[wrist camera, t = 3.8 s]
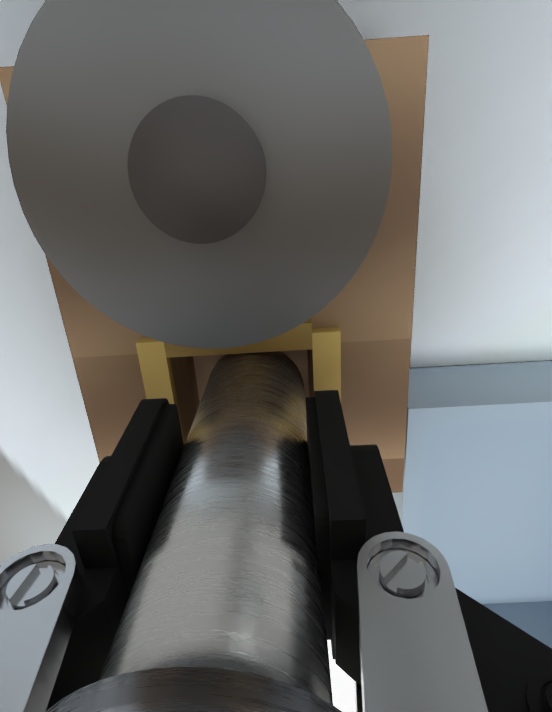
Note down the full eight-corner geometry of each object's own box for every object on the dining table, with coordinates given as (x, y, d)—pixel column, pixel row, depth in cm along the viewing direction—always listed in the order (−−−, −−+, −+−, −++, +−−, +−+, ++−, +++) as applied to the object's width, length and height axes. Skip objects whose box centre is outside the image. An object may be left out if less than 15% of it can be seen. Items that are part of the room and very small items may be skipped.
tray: (388, 369, 18) (408, 409, 15) (630, 356, 18) (697, 394, 15) (379, 606, 24) (393, 668, 21) (566, 599, 23) (606, 661, 20)
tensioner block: (60, 52, 14) (-174, -59, 7) (390, 27, 14) (517, -117, 6) (142, 440, 20) (62, 607, 12) (378, 428, 19) (439, 592, 12)
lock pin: (183, 332, 14) (-131, 838, 3) (318, 325, 14) (430, 834, 3) (200, 447, 15) (18, 1044, 5) (321, 442, 15) (404, 1047, 5)
